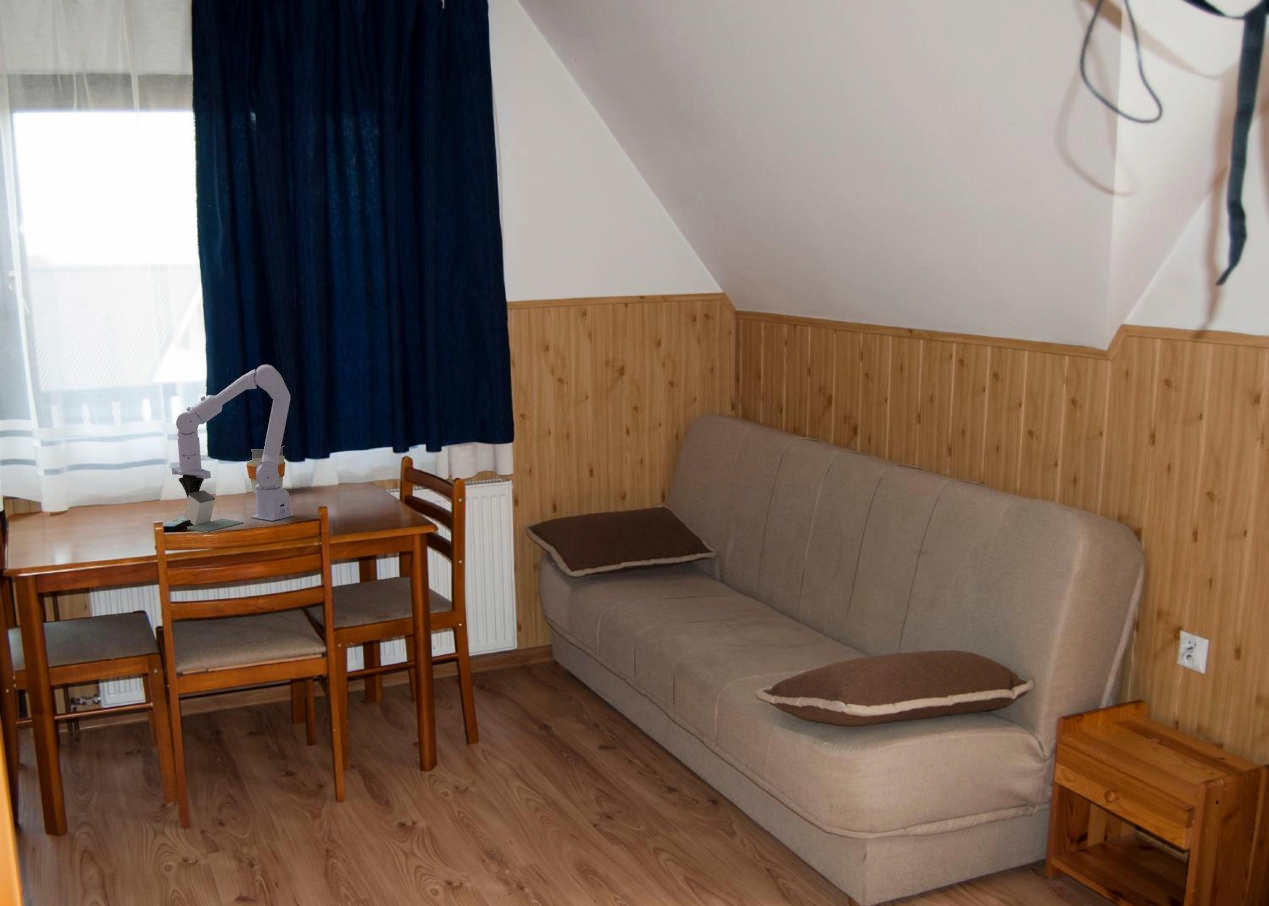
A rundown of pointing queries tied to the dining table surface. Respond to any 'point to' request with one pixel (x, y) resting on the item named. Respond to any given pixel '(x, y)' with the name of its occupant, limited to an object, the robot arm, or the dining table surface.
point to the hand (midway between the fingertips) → (193, 501)
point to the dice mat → (214, 525)
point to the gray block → (199, 507)
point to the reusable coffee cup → (257, 460)
